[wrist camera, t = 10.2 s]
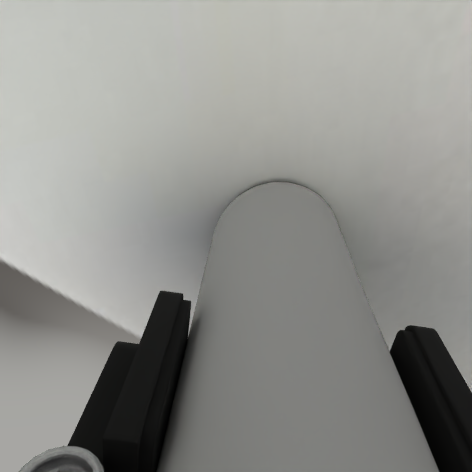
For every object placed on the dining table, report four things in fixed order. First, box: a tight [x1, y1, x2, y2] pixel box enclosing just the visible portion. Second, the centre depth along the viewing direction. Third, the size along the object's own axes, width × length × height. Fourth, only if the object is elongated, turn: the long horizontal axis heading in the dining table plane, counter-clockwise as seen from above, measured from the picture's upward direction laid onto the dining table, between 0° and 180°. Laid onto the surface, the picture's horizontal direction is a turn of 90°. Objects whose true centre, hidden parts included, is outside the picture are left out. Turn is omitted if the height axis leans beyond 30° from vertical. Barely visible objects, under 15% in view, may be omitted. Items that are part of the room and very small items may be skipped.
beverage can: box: [156, 182, 439, 472], centre depth 11 cm, size 5×5×12 cm
